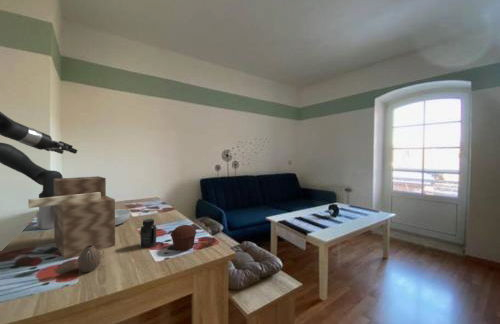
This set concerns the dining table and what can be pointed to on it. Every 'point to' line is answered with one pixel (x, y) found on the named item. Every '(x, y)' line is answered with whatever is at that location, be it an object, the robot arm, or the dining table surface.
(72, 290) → the dining table surface
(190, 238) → the muffin
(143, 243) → the supplement bottle
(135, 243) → the dining table surface
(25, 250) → the dining table surface
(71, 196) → the birch rod
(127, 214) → the serving bowl
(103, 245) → the walnut stand
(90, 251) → the brown egg-shaped lump
